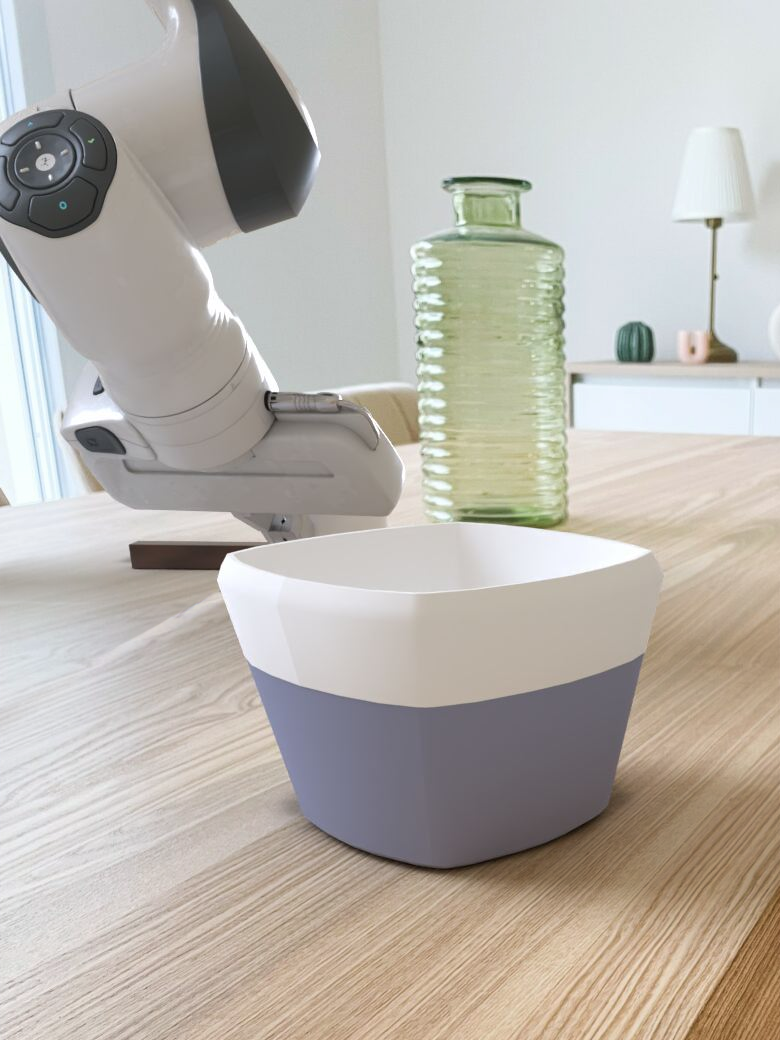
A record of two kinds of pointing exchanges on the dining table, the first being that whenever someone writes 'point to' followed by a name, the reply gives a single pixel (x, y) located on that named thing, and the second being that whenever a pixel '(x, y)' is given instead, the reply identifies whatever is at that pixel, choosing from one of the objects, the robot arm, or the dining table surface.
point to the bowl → (446, 679)
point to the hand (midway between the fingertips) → (293, 537)
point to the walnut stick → (184, 553)
